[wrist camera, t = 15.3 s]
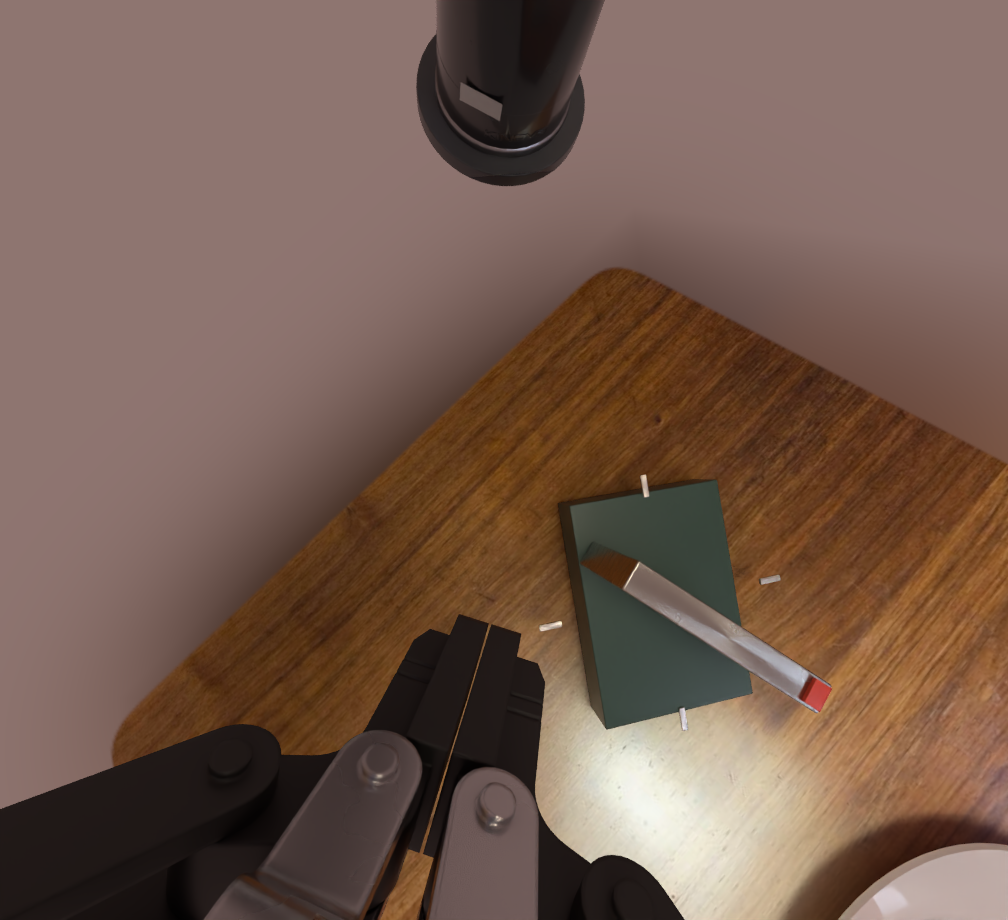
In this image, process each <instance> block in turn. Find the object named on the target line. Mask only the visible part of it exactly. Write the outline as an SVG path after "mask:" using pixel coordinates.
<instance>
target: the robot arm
mask: <svg viewBox="0 0 1008 920" xmlns="http://www.w3.org/2000/svg"><path fill="white" fill-rule="evenodd" d="M604 1H605V0H437V30H436V53H437V63H436V70H435V91H436V98H437V102H438V106H439V109H440V111H441V113H442V116H443V117H444V119H445V121H446V123H447V124H448V126H449V127H450V128H451V130H452V131H453V132H454V133H455V134H456V135H457V136H458V137H459V138H460V139H461V140H462V141H463V142H465V143H466V144H468V145H469V146H471V147H472V148H474V149H476V150H478V151H480V152H482V153H485V154H488V155H491V156H496V157H503V158H515V157H522V156H526V155H529V154H532V153H534V152H536V151H538V150H540V149H542V148H543V147H545V146H546V145H547V144H548V143H549V142H551V141H552V140H553V138H554V137H555V136H556V135H557V133H558V132H559V130H560V129H561V127H562V125H563V122H564V120H565V117H566V114H567V111H568V108H569V104H570V98H571V95H572V92H573V90H574V87H575V84H576V81H577V78H578V76H579V73H580V70H581V67H582V64H583V61H584V58H585V56H586V53H587V50H588V47H589V44H590V41H591V38H592V35H593V33H594V30H595V27H596V24H597V21H598V18H599V15H600V12H601V10H602V7H603V4H604ZM488 624H489V623H486V622H483V621H479V620H476V619H473V618H470V617H467V616H464V615H461V614H459V615H458V617H457V620H456V622H455V624H454V626H453V629H452V631H451V633H450V635H448V634H445V633H441V632H438V631H435V630H432V629H429V630H428V631H426V632H425V633H423V634H422V635H420V636H419V637H418V638H416V639H415V640H414V641H413V643H412V644H411V646H410V648H409V650H408V652H407V654H406V655H405V658H404V660H403V661H402V663H401V665H400V666H399V668H398V670H397V673H396V674H395V676H394V677H393V679H392V681H391V683H390V685H389V687H388V688H387V690H386V692H385V694H384V696H383V698H382V699H381V701H380V703H379V705H378V707H377V709H376V710H375V712H374V714H373V716H372V718H371V719H370V721H369V723H368V725H367V727H366V728H365V730H364V731H363V733H361V734H359V735H357V736H355V737H353V738H352V739H350V740H349V741H348V742H347V743H346V744H345V745H344V746H343V747H342V748H341V749H340V750H338V751H336V752H332V753H329V754H323V755H311V756H310V755H281V748H280V745H279V742H278V741H277V739H276V738H275V737H274V736H273V735H272V734H271V733H270V732H269V731H267V730H266V729H263V728H261V727H259V726H254V725H247V724H238V725H230V726H225V727H222V728H219V729H216V730H213V731H211V732H208V733H205V734H202V735H200V736H197V737H194V738H192V739H189V740H186V741H183V742H181V743H178V744H175V745H173V746H170V747H167V748H165V749H162V750H159V751H156V752H154V753H151V754H148V755H146V756H143V757H140V758H137V759H135V760H132V761H129V762H127V763H124V764H121V765H119V766H116V767H113V768H110V769H108V770H105V771H102V772H100V773H97V774H95V775H92V776H89V777H86V778H83V779H81V780H78V781H76V782H73V783H70V784H67V785H64V786H62V787H59V788H56V789H54V790H51V791H48V792H46V793H43V794H40V795H37V796H35V797H32V798H30V799H27V800H24V801H21V802H18V803H16V804H13V805H10V806H8V807H5V808H2V809H0V920H380V919H381V917H382V914H383V912H384V909H385V907H386V904H387V902H388V899H389V896H390V893H391V892H392V890H393V888H394V887H395V885H396V882H397V880H398V877H399V874H400V871H401V868H402V865H403V862H404V859H405V856H406V854H407V851H408V849H410V850H413V851H416V852H418V853H420V849H421V846H422V843H423V840H424V836H425V833H426V830H427V827H428V823H429V820H430V817H431V814H432V811H433V807H434V804H435V801H436V798H437V794H438V791H439V788H440V785H441V782H442V778H443V775H444V772H445V769H446V765H447V762H448V759H449V756H450V752H451V749H452V746H453V743H454V740H455V736H456V733H457V730H458V727H459V723H460V720H461V717H462V714H463V711H464V707H465V704H466V701H467V697H468V694H469V691H470V687H471V684H472V681H473V677H474V674H475V670H476V667H477V663H478V660H479V656H480V653H481V649H482V646H483V642H484V639H485V635H486V632H487V628H488ZM520 638H521V633H517V632H514V631H511V630H508V629H505V628H502V627H499V626H496V625H492V624H491V627H490V630H489V634H488V637H487V640H486V643H485V647H484V650H483V653H482V657H481V660H480V663H479V666H478V670H477V673H476V676H475V679H474V683H473V686H472V689H471V693H470V696H469V699H468V702H467V706H466V709H465V712H464V715H463V719H462V722H461V725H460V729H459V732H458V735H457V738H456V742H455V745H454V748H453V751H452V755H451V758H450V762H449V765H448V769H447V772H446V776H445V779H444V783H443V786H442V790H441V793H440V797H439V800H438V804H437V807H436V811H435V814H434V818H433V821H432V825H431V828H430V832H429V835H428V839H427V842H426V846H425V849H424V853H423V854H425V855H428V856H430V857H433V858H434V859H433V862H432V866H431V870H430V873H429V877H428V880H427V884H426V888H425V891H424V895H423V898H422V902H421V905H420V908H419V912H418V915H417V920H684V918H683V917H682V915H681V914H680V912H679V911H678V909H677V908H676V906H675V905H674V903H673V902H672V900H671V899H670V898H669V896H668V895H667V893H666V892H665V890H664V889H663V888H662V886H661V885H660V884H659V882H658V881H657V880H656V879H655V878H654V877H653V876H652V875H651V874H650V873H649V872H648V871H647V870H646V869H645V868H643V867H642V866H641V865H639V864H637V863H636V862H634V861H632V860H630V859H628V858H625V857H622V856H616V855H607V856H603V857H600V858H598V859H596V860H595V861H593V862H592V863H589V862H588V861H587V860H585V859H584V858H583V857H581V856H580V855H579V854H577V853H576V852H575V851H573V850H572V849H570V848H569V847H568V846H566V845H565V844H564V843H563V842H562V841H560V840H559V839H558V838H557V837H556V836H555V835H554V833H553V832H552V831H551V830H550V829H549V827H548V826H547V824H546V823H545V821H544V819H543V818H542V816H541V813H540V811H539V809H538V806H537V802H536V797H535V780H536V770H537V760H538V750H539V740H540V729H541V718H542V709H543V706H542V705H543V699H544V689H545V681H544V679H543V676H542V673H541V671H540V668H539V666H538V663H534V662H531V661H528V660H525V659H522V658H519V657H517V654H518V648H519V643H520Z"/></svg>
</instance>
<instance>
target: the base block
mask: <svg viewBox="0 0 1008 920" xmlns="http://www.w3.org/2000/svg"><path fill="white" fill-rule="evenodd" d="M640 481H641V487H642V488H641V489H635V490H630V491H624V492H618V493H613V494H607V495H601V496H596V497H590V498H584V499H579V500H573V501H567V502H561V503H558V507H559V513H560V519H561V525H562V531H563V538H564V544H565V550H566V556H567V562H568V568H569V574H570V580H571V586H572V593H573V599H574V605H575V611H576V617H577V623H578V629H579V635H580V641H581V648H582V654H583V660H584V666H585V672H586V678H587V684H588V690H589V696H590V703H591V707H592V709H593V710H594V712H595V713H596V715H597V716H598V718H599V719H600V721H601V722H602V724H603V725H604V727H605V728H606V729H611V728H615V727H619V726H623V725H627V724H631V723H635V722H639V721H643V720H647V719H651V718H655V717H660V716H664V715H668V714H672V713H676V712H679V716H680V722H681V728H682V730H683V731H685V730H688V726H687V720H686V714H685V710H688V709H692V708H696V707H700V706H704V705H708V704H712V703H716V702H720V701H724V700H728V699H732V698H736V697H740V696H744V695H748V694H752V693H753V692H752V686H751V680H750V674H749V671H748V670H746V669H745V668H743V667H741V666H740V665H738V664H737V663H735V662H733V661H732V660H730V659H729V658H727V657H726V656H724V655H722V654H721V653H719V652H718V651H716V650H715V649H713V648H711V647H710V646H708V645H707V644H705V643H704V642H702V641H700V640H699V639H697V638H696V637H694V636H693V635H691V634H690V633H688V632H686V631H685V630H683V629H682V628H680V627H679V626H677V625H675V624H674V623H672V622H671V621H669V620H668V619H666V618H664V617H663V616H661V615H660V614H658V613H657V612H655V611H653V610H652V609H650V608H649V607H647V606H646V605H644V604H642V603H641V602H639V601H638V600H636V599H635V598H633V597H631V596H630V595H628V594H627V593H625V592H624V591H622V590H620V589H619V588H617V587H616V586H614V585H613V584H611V583H609V582H608V581H606V580H605V579H603V578H602V577H600V576H598V575H597V574H595V573H594V572H592V571H591V570H589V569H588V568H586V567H584V566H583V565H581V564H580V562H581V560H582V558H583V557H584V555H585V553H586V552H587V550H588V548H589V547H590V545H591V543H592V542H595V543H598V544H600V545H603V546H605V547H607V548H610V549H612V550H614V551H617V552H619V553H622V554H624V555H626V556H629V557H631V558H634V559H636V560H638V561H640V562H642V563H643V564H645V565H647V566H648V567H650V568H651V569H653V570H654V571H656V572H657V573H659V574H660V575H662V576H664V577H665V578H667V579H668V580H670V581H671V582H673V583H674V584H676V585H677V586H679V587H681V588H682V589H684V590H685V591H687V592H688V593H690V594H691V595H693V596H694V597H696V598H698V599H699V600H701V601H702V602H704V603H705V604H707V605H708V606H710V607H711V608H713V609H715V610H716V611H718V612H719V613H721V614H722V615H724V616H725V617H727V618H728V619H730V620H732V621H733V622H735V623H736V624H738V625H739V626H741V621H740V615H739V609H738V603H737V597H736V591H735V585H734V579H733V573H732V567H731V561H730V555H729V550H728V544H727V538H726V532H725V526H724V520H723V514H722V508H721V502H720V496H719V490H718V484H717V480H699V479H692V480H686V481H681V482H675V483H669V484H664V485H658V486H652V487H648V485H647V479H646V475H640ZM775 581H780V575H774V576H769V577H764V578H760V579H759V583H760V584H766V583H771V582H775ZM560 627H562V622H561V621H556V622H551V623H547V624H542V625H539V630H540V632H541V631H546V630H550V629H555V628H560Z"/></svg>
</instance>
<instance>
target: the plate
mask: <svg viewBox="0 0 1008 920" xmlns="http://www.w3.org/2000/svg"><path fill="white" fill-rule="evenodd" d="M838 920H1008V845H1002V844H994V843H970V844H960V845H954V846H950V847H945V848H940V849H937V850H934V851H931V852H928V853H926V854H923V855H920V856H918V857H916V858H914V859H912V860H910V861H907V862H905V863H904V864H902V865H900V866H899V867H897V868H895V869H894V870H892V871H890V872H889V873H887V874H886V875H884V876H883V877H882V878H880V879H879V880H878V881H876V882H875V883H874V884H872V885H871V886H870V887H869V888H868V889H867V890H866V891H864V892H863V893H862V894H861V895H860V896H859V897H858V898H857V899H856V900H855V901H854V902H853V903H852V904H851V905H850V906H849V907H848V908H847V910H846V911H845V912H844V913H843V914H842V915H841V916H840V918H839V919H838Z"/></svg>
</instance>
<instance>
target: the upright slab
mask: <svg viewBox="0 0 1008 920" xmlns="http://www.w3.org/2000/svg"><path fill="white" fill-rule="evenodd" d="M580 564H581V565H583V566H584V567H586V568H588V569H589V570H591V571H592V572H594V573H595V574H597V575H598V576H600V577H602V578H603V579H605V580H606V581H608V582H609V583H611V584H613V585H614V586H616V587H617V588H619V589H620V590H622V591H624V592H625V593H627V594H628V595H630V596H631V597H633V598H635V599H636V600H638V601H639V602H641V603H642V604H644V605H646V606H647V607H649V608H650V609H652V610H653V611H655V612H657V613H658V614H660V615H661V616H663V617H664V618H666V619H668V620H669V621H671V622H672V623H674V624H675V625H677V626H679V627H680V628H682V629H683V630H685V631H686V632H688V633H690V634H691V635H693V636H694V637H696V638H697V639H699V640H700V641H702V642H704V643H705V644H707V645H708V646H710V647H711V648H713V649H715V650H716V651H718V652H719V653H721V654H722V655H724V656H726V657H727V658H729V659H730V660H732V661H733V662H735V663H737V664H738V665H740V666H741V667H743V668H745V669H746V670H748V671H749V672H751V673H753V674H754V675H756V676H757V677H759V678H761V679H762V680H764V681H765V682H767V683H769V684H770V685H772V686H773V687H775V688H776V689H778V690H780V691H781V692H783V693H784V694H786V695H788V696H789V697H791V698H792V699H794V700H796V701H797V702H799V703H800V704H802V705H804V706H805V707H807V708H808V709H810V710H812V711H813V712H815V713H818V712H820V711H821V709H822V707H823V705H824V703H825V701H826V700H827V698H828V696H829V694H830V692H831V690H832V688H831V685H830V684H829V683H827V682H826V681H824V680H823V679H821V678H820V677H818V676H817V675H815V674H813V673H812V672H810V671H809V670H807V669H806V668H804V667H803V666H801V665H800V664H798V663H796V662H795V661H793V660H792V659H790V658H789V657H787V656H786V655H784V654H783V653H781V652H779V651H778V650H776V649H775V648H773V647H772V646H770V645H769V644H767V643H766V642H764V641H762V640H761V639H759V638H758V637H756V636H755V635H753V634H752V633H750V632H749V631H747V630H745V629H744V628H742V627H741V626H739V625H738V624H736V623H735V622H733V621H732V620H730V619H728V618H727V617H725V616H724V615H722V614H721V613H719V612H718V611H716V610H715V609H713V608H711V607H710V606H708V605H707V604H705V603H704V602H702V601H701V600H699V599H698V598H696V597H694V596H693V595H691V594H690V593H688V592H687V591H685V590H684V589H682V588H681V587H679V586H677V585H676V584H674V583H673V582H671V581H670V580H668V579H667V578H665V577H664V576H662V575H660V574H659V573H657V572H656V571H654V570H653V569H651V568H650V567H648V566H647V565H645V564H643V563H642V562H640V561H638V560H636V559H634V558H631V557H629V556H626V555H624V554H622V553H619V552H617V551H614V550H612V549H610V548H607V547H605V546H603V545H600V544H598V543H595V542H592V543H591V545H590V547H589V548H588V550H587V552H586V553H585V555H584V557H583V558H582V560H581V562H580Z"/></svg>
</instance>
